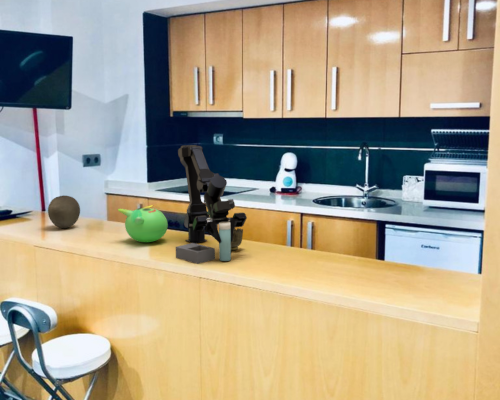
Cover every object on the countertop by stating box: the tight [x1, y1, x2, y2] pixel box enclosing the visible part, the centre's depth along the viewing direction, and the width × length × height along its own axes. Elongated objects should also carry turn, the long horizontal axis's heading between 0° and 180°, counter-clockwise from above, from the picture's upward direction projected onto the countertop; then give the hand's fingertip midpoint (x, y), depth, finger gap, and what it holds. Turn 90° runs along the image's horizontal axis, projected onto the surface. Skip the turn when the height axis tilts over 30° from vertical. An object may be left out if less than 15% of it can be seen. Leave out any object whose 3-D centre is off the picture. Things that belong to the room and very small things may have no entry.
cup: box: [231, 227, 244, 252], centre depth 200 cm, size 8×7×8 cm
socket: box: [175, 242, 216, 265], centre depth 189 cm, size 12×8×4 cm, turn 46°
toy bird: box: [117, 204, 169, 243], centre depth 215 cm, size 18×17×15 cm
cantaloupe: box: [47, 195, 81, 229], centre depth 242 cm, size 14×14×15 cm
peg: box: [218, 222, 232, 262], centre depth 185 cm, size 4×4×13 cm
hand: (226, 241), depth 183 cm, fingers closed on peg, 4 cm apart
